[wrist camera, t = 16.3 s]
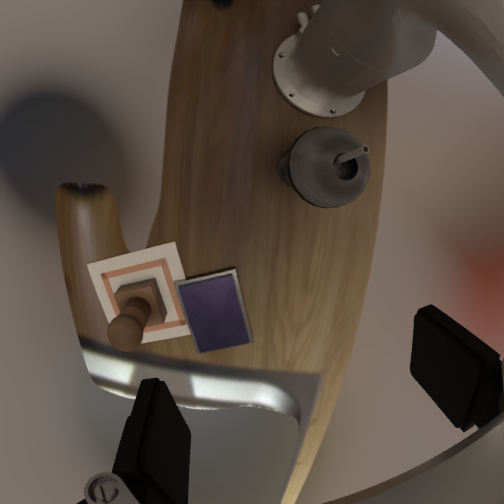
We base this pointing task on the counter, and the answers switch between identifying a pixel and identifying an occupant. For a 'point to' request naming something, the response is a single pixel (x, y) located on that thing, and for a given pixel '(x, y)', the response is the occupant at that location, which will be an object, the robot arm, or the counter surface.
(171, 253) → the print card
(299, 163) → the beverage cup
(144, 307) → the stamp
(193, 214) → the counter surface
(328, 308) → the counter surface
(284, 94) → the robot arm
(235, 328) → the ink pad
